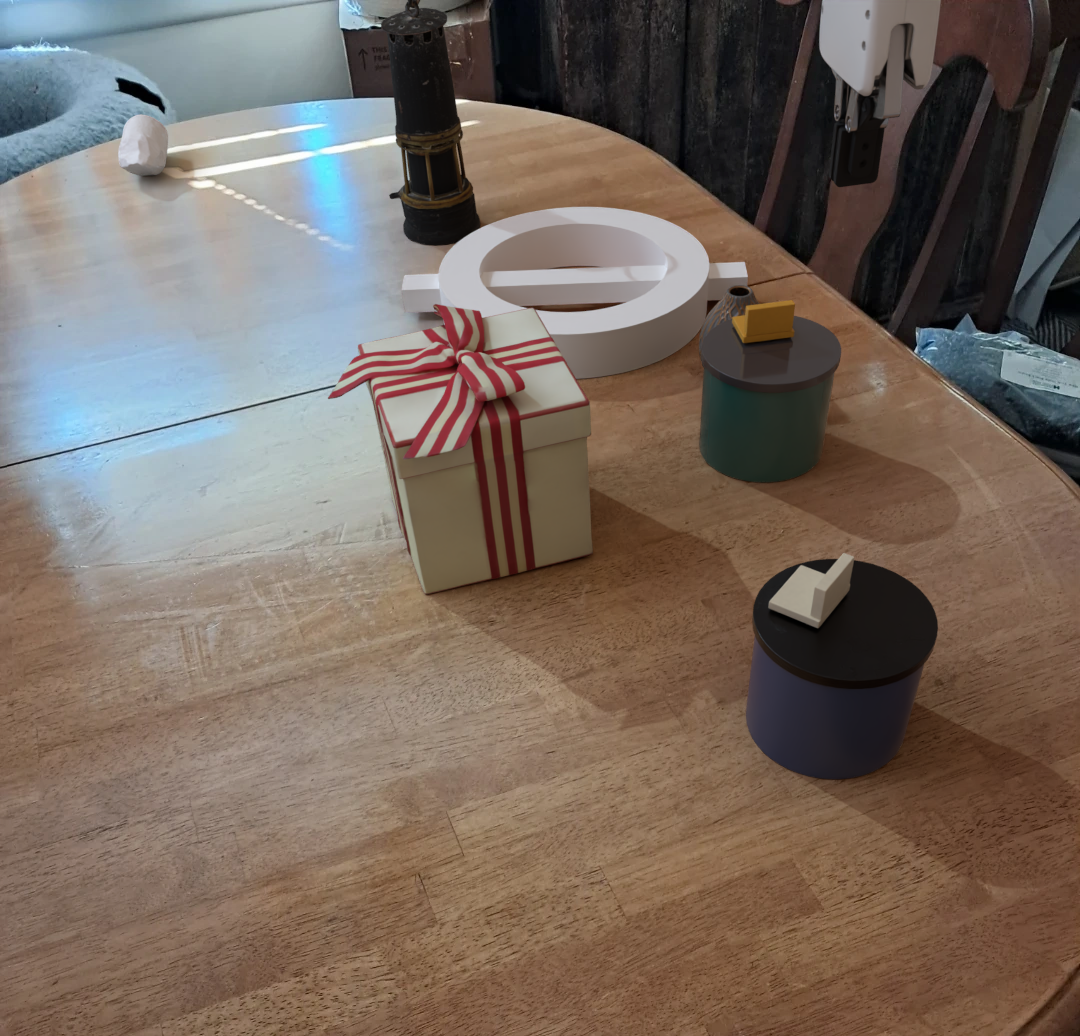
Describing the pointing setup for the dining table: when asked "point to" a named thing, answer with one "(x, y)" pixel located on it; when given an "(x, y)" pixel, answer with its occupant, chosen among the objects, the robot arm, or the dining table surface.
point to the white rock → (143, 146)
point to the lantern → (428, 130)
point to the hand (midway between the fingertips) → (852, 180)
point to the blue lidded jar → (839, 674)
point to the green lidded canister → (766, 401)
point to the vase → (728, 309)
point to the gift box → (480, 445)
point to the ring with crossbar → (585, 282)
